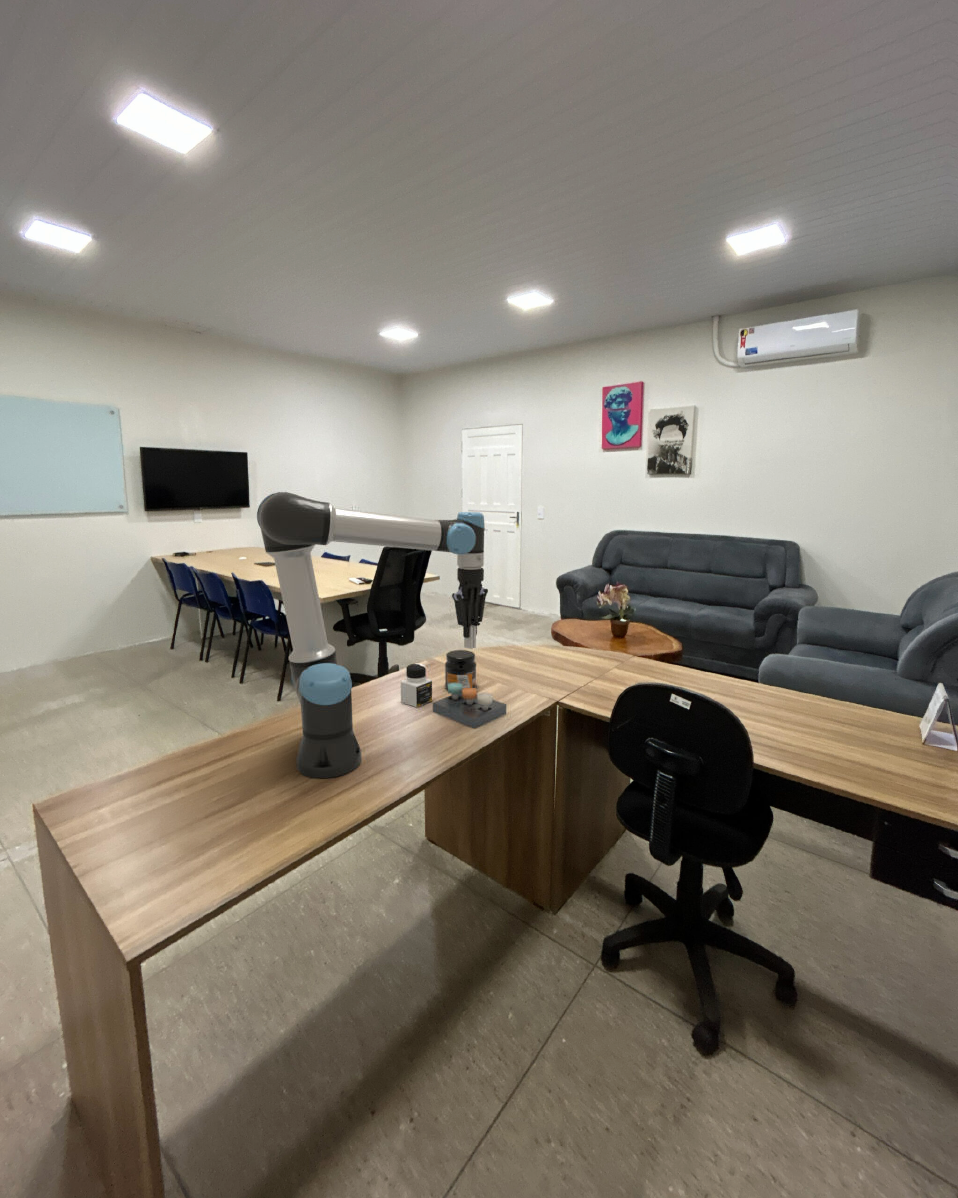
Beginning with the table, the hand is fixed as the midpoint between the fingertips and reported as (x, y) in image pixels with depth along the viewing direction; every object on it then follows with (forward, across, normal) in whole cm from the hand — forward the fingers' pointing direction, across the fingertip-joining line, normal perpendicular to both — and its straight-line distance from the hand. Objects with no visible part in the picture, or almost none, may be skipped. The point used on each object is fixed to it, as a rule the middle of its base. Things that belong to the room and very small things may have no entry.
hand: (470, 647), depth 156 cm
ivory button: (+18, 0, -6) cm, 19 cm away
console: (+20, 0, 0) cm, 20 cm away
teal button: (+18, 0, +6) cm, 19 cm away
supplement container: (+21, +13, +16) cm, 29 cm away
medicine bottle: (+21, -5, +18) cm, 28 cm away
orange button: (+18, 0, 0) cm, 18 cm away
